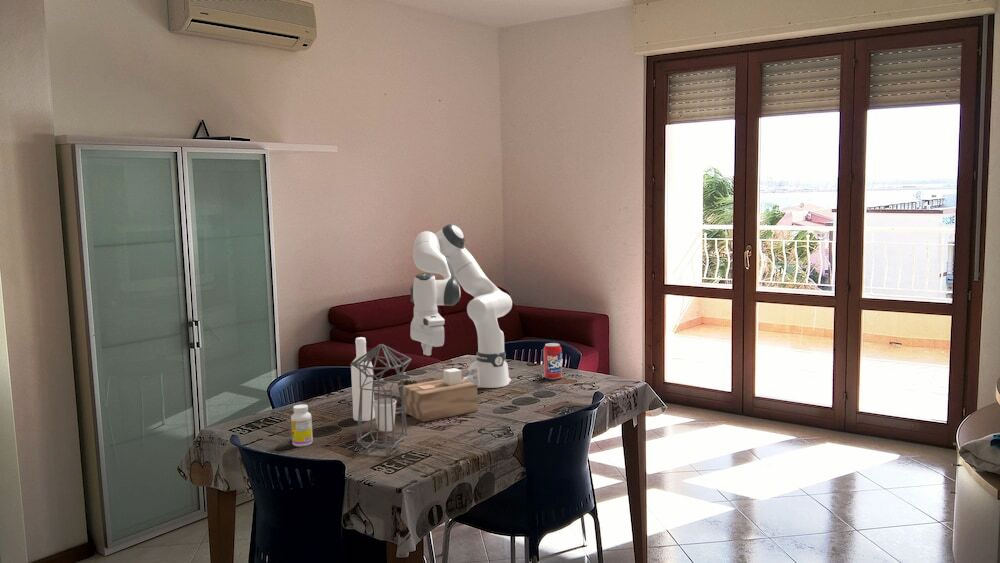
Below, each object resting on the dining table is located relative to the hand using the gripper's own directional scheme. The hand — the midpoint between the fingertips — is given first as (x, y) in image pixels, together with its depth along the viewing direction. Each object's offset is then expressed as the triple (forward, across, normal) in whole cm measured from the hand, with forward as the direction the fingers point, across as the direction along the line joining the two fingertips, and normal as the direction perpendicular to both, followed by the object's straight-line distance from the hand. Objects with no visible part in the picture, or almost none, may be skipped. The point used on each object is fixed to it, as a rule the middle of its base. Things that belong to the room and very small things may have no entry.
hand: (427, 354), depth 285 cm
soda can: (+23, -15, +69) cm, 75 cm away
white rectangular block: (+16, 0, +11) cm, 20 cm away
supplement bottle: (+23, +4, -50) cm, 55 cm away
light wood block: (+22, 0, +5) cm, 23 cm away
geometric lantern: (+22, +29, -31) cm, 48 cm away
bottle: (+23, -10, -22) cm, 33 cm away
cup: (+23, -21, +2) cm, 31 cm away
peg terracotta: (+21, -1, 0) cm, 21 cm away
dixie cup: (+23, +7, -21) cm, 32 cm away
